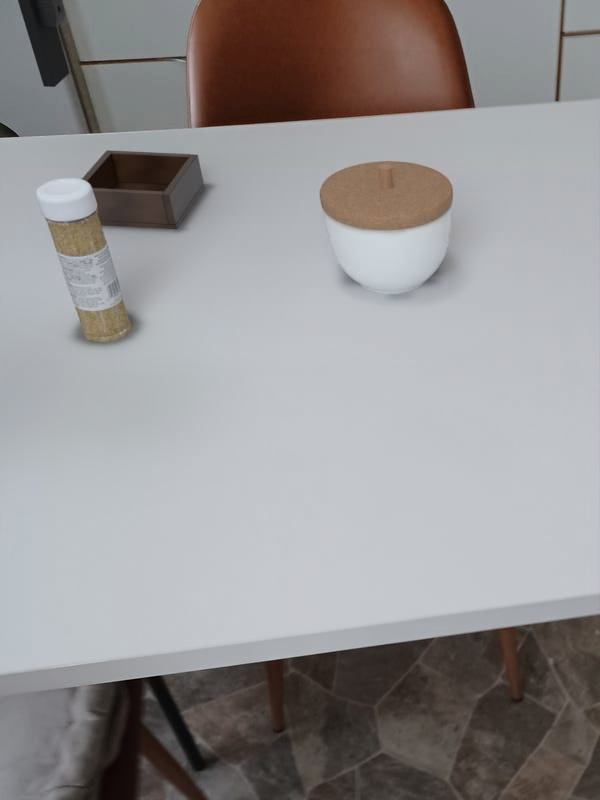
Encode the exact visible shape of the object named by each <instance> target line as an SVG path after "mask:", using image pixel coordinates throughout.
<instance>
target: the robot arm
mask: <svg viewBox="0 0 600 800" xmlns="http://www.w3.org/2000/svg"><path fill="white" fill-rule="evenodd" d="M17 2H18V6H19V9H20V13H21V15H22V19H23V22H24V25H25V29H26V32H27V36H28V39H29V42H30V46H31V49H32V52H33V56H34V59H35V62H36V65H37V69H38V71H39V75H40V79H41V82H42V85H43V87H46V88H55V87H57V85H59V84H60V83H61V82H62V81H63V80H64V79H65V78H66V77H67V76H68V75H70V69H69V66H68V62H67V58H66V55H65V52H64V48H63V44H62V40H61V37H60V33H59V30H58V27H59V26H60V25H61V24H62V23H63V22H65V19H66V17H65V15H66V11H65V8H64V4H63V0H17Z"/></svg>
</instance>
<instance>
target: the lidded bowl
mask: <svg viewBox="0 0 600 800" xmlns="http://www.w3.org/2000/svg"><path fill="white" fill-rule="evenodd" d="M453 200H454V188H453V185H452V183H451V181H450V179H449V178H448V177H447V176H446V175H445V174H443V173H442V172H441V171H438V170H437V169H435V168H433V167H430V166H427V165H422V164H419V163H413V162H407V161H398V160H397V161H394V160H385V161H384V160H383V161H381V160H380V161H371V162H370V161H369V162H364V163H360V164H359V163H358V164H354V165H351V166H348V167H344V168H342V169H339V170H338V171H335V172H334V173H332V174H331V175H330V176H328V177H327V178H326V179H325V180H324V181H323V182H322V183H321V186H320V189H319V201H320V205H321V209H322V213H323V221H324V222H323V223H324V228H325V232H326V235H327V240H328V243H329V246H330V250H331V251H332V255H333V256H334V258H335V260H336V262H337V263H338V265H339V266H340V268H341V269H342V270H343V272H345V273H346V275H348V276H349V277H350V278H351V279H352V280H354V281H355V282H356V283H358V284H359V285H360V286H361V287H362V288H364V289H366V290H367V291H370V292H374V293H378V294H390V295H391V294H395V295H396V294H402V293H408V292H410V291H413V290H416V289H417V288H419V287H421V286H422V285H424V283H426V281H427V280H428V279H430V278H431V277H432V276H433V274H434V273H436V271H437V270H438V269H439V268H440V266H441V263H443V260H444V259H445V256H446V253H447V251H448V247H449V243H450V239H451V232H452V231H451V230H452V220H453V219H452V215H453V214H452V213H453V210H452V208H453V206H452V205H453Z"/></svg>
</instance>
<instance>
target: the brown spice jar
mask: <svg viewBox="0 0 600 800" xmlns="http://www.w3.org/2000/svg"><path fill="white" fill-rule="evenodd" d="M35 197H36V200H37V204H38V206H39V210H40V213H41V215H42V216H43V217H44V219H45V221H46V223H47V226H48V230H49V232H50V235H51V238H52V241H53V245H54V248H55V251H56V255H57V257H58V261H59V264H60V267H61V270H62V275H63V277H64V281H65V284H66V286H67V289H68V292H69V295H70V298H71V302H72V304H73V306H74V308H75V311H76V313H77V316H78V319H79V323H80V326H81V332H82V335H83V336H84V338H85V339H87V340H88V341H93V342H96V343H98V342H99V343H106V342H107V343H108V342H112V341H116V340H119V339H121V338H123V337H125V336H126V335H128V334H129V332H131V330H132V328H133V327H132V322H131V319H130V318H129V315H128V312H127V308H126V306H125V303H124V298H123V292H122V288H121V285H120V282H119V278H118V274H117V272H116V268H115V264H114V261H113V258H112V254H111V250H110V247H109V244H108V242H107V239H106V237H105V234H104V230H103V227H102V225H101V223H100V220H99V217H98V209H97V202H96V199H95V196H94V193H93V189H92V187H91V185H90V184H89V183H88V182H87V181H85V180H82V178H76V177H62V178H57V179H52V180H49V181H46V182H45V183H43V184H41V185H40V186H39V187H38V188H37V189H36V192H35Z"/></svg>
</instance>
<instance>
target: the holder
mask: <svg viewBox="0 0 600 800" xmlns="http://www.w3.org/2000/svg"><path fill="white" fill-rule="evenodd" d="M203 178H204V177H203V173H202V168H201V163H200V158H199V154H194V153H192V154H191V153H176V152H175V153H173V152H172V153H171V152H154V151H153V152H152V151H151V152H150V151H134V150H133V151H131V150H110V149H109V150H108V149H106V151H105V152H104V153H103V154H102V155H101V156H100V157H99V159H97V160H96V162H95V163H94V164H93V165H92V167H90V169H88V171H86V173H85V174H84V176H83V177H82V178H81V179H82V180H85V181H87V182H88V183H89V184H90V185H91V187H92V189H93V193H94V196H95V199H96V202H97V209H98V217H99V220H100V223H101V226H103V227H104V226H105V227H123V228H124V227H125V228H142V229H143V228H144V229H164V230H178V229H179V227H180V225H181V224H182V223H183V221H184V220H185V219H186V217H187V216H188V214H189V212H190V210H191V209H192V208H193V206H194V205H195V203H196V202H197V200H198V199H199V197H200V196H201V194H202V192H204V189H205V184H204V179H203Z"/></svg>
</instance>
